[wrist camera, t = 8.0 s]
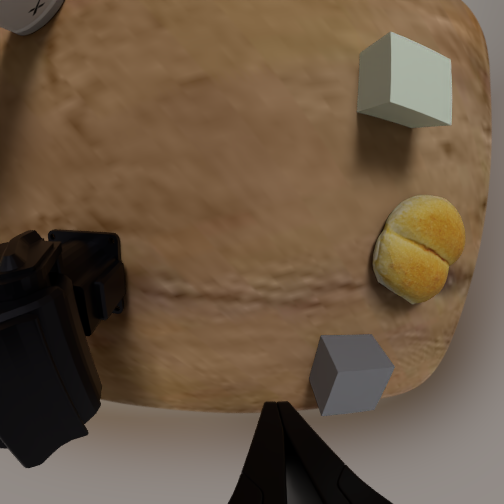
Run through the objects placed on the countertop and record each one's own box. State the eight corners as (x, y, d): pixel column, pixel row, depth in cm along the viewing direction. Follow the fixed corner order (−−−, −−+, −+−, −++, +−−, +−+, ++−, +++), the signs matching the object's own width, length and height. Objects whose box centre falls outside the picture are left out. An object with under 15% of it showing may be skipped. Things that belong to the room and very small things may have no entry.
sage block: (356, 112, 18) (390, 101, 14) (359, 53, 17) (390, 31, 12) (411, 128, 19) (451, 125, 14) (413, 72, 17) (450, 59, 12)
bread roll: (461, 222, 22) (490, 233, 18) (414, 303, 24) (436, 325, 20) (407, 170, 20) (437, 175, 16) (351, 266, 22) (373, 287, 18)
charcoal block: (308, 377, 25) (321, 416, 20) (320, 334, 24) (338, 371, 19) (356, 375, 26) (374, 409, 21) (371, 333, 24) (394, 366, 19)
